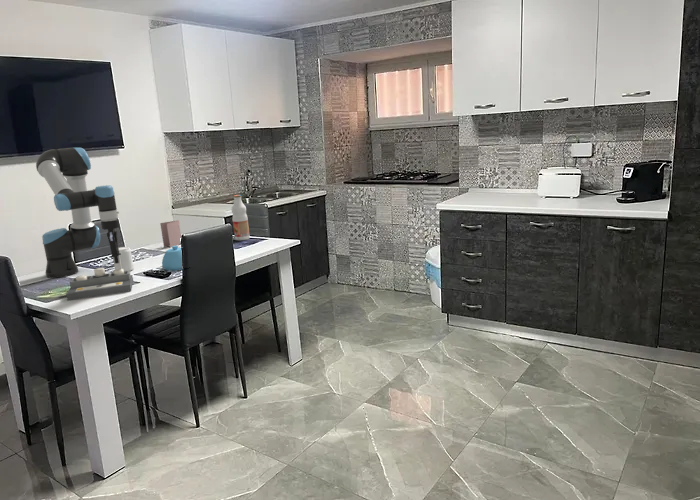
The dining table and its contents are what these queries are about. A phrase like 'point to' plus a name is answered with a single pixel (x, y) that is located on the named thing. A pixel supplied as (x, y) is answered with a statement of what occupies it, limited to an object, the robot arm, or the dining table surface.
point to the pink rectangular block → (171, 233)
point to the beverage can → (126, 258)
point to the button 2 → (118, 272)
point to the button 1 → (81, 278)
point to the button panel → (100, 285)
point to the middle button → (99, 272)
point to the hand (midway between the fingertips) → (118, 269)
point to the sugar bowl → (172, 259)
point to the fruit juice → (240, 219)
